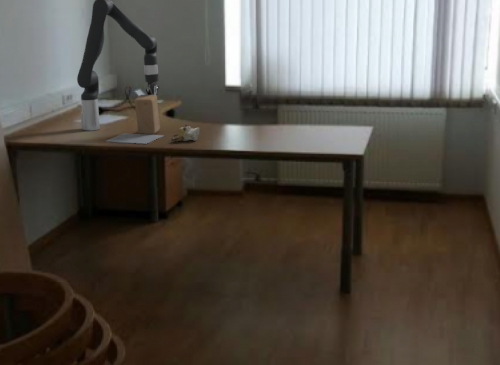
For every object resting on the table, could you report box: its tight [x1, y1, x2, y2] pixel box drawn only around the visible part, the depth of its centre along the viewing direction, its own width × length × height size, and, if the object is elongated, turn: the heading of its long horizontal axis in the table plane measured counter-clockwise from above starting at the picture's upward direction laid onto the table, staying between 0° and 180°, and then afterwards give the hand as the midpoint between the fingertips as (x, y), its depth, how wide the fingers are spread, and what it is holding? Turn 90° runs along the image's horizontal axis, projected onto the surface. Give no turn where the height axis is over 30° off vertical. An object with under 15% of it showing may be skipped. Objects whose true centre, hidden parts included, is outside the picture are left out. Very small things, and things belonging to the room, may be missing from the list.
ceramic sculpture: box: [170, 124, 200, 142], centre depth 411 cm, size 11×9×15 cm
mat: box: [104, 132, 165, 145], centre depth 418 cm, size 24×22×1 cm
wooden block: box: [134, 94, 161, 135], centre depth 430 cm, size 10×10×20 cm
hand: (153, 104), depth 435 cm, fingers closed
